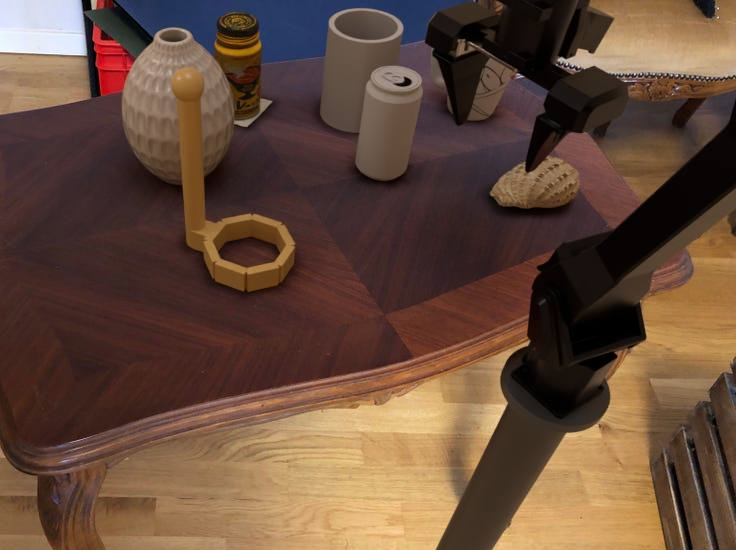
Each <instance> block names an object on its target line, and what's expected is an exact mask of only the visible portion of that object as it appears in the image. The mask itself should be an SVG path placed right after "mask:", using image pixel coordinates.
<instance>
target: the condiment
mask: <svg viewBox="0 0 736 550" xmlns="http://www.w3.org/2000/svg"><path fill="white" fill-rule="evenodd" d="M215 36H216V39H215V40H214V43H213V44H214V45H213V50H214V51H213V52H214V53H213V55H214V56H213V57H214V59H215V60H216V61H217V62H218V64H219V65H220V67H221V68H222V70H223V72H224V74H225V76H226V78H227V80H228V82H229V85H230V88H231V91H232V94H233V101H234V112H235V122H234V125H237V126H240V127H243V128H248V127H249V126H250V125H251V124H253V122H254V121H255V120H257V118H259V117H260V116H261V114H263V112H265V111H266V109H267V108H268V107H269V106H270V105H271V104H272V103H273V100H269V99H265V98H262V96H261V95H262V94H261V93H262V59H263V53H262V52H263V49H262V46H263V45H262V42H261V39H260V22H259V20H258V17H256V16H255V15H254V14H253V15H252V14H250V13H248V12H245V11H232V12H227V13H225V14H221V16H220V17H218V18H217V20H216V34H215Z"/></svg>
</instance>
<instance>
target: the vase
mask: <svg viewBox="0 0 736 550" xmlns="http://www.w3.org/2000/svg"><path fill="white" fill-rule="evenodd" d="M185 67H189V68H193V69H195V70H197V71H198V72H199V73H200V74H201V76H202V77H203V80H204V91H203V94H202V96H201V121H202V145H203V170H204V179H205V178H206V177H207V176H209V175H210V174H211V173H212V172H213V171H214V170H216V168H217V167H218V166H219V164H220V163H221V162H222V160H223V159H224V157H225V155H226V154H227V151H228V149H229V148H230V145H231V141H232V140H233V135H234V130H235V124H234V122H235V112H234V101H233V94H232V91H231V88H230V85H229V82H228V80H227V78H226V76H225V74H224V72H223V70H222V68H221V67H220V65H219V64H218V62H217V61H216V60H215V59H214V56H213V55H212V54H211V53H210V52H209V51H208V50H207V49H206V48H205V47H204V46H203V45H201V44H199V42H197V41H196V40H195V39H194V36H193V34H192V33H191V31H190V30H188V29H186V28H181V27H167V28H163V29H161V30H159V31H157V32H155V34H154V37H153V40H152V42H151V43H150V44H149V45H148V46H146V47H145V48H144V49H143V50H142V51H141V53H140V54H139V55H138V56H137V57H136V59H135V61H134V62H133V63H132V65H131V67H130V69H129V71H128V74H127V76H126V78H125V82H124V85H123V89H122V95H121V119H122V125H123V130H124V134H125V137H126V139H127V142H128V144H129V147H130V149H131V151H132V152H133V154H134V155H135V156H136V158H137V160H138V161H139V162H140V163H141V164H142V165H143V167H144V168H145V169H147V170H148V171H149V172H150V173H151V174H152V175H154V176H155V177H157V178H158V179H159V180H161V181H163V182H165V183H167V184H170V185H174V186H183V184H182V169H181V155H180V140H179V126H178V111H177V98H176V96H175V95H174V93H173V91H172V87H171V82H172V78H173V76H174V74H175V73H176V72H177V71H178V70H179V69H182V68H185Z"/></svg>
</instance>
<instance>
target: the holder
mask: <svg viewBox="0 0 736 550" xmlns="http://www.w3.org/2000/svg"><path fill="white" fill-rule="evenodd" d="M171 87H172V91H173V93H174V95H175V96H176V98H177V111H178V126H179V140H180V155H181V169H182V184H183V185H182V195H183V197H182V198H183V211H184V212H183V213H184V226H185V239H186V245H187V246H188V247H189V248H191V249H193V250H196V251H199V252H201V253H203V260H204V262H205V265H206V267H207V269H208V271H209V273H210V276H211V278H212V280H214V281H215V282H216V283H219V284H221V285H224V286H227V287H230V288H233V289H234V290H238V291H241V292H245V291H246V292H247V293H250V292H254V291H258V290H262V289H267V288H273V287H276V286H278V285H279V284H281V283H282V282H283V281H284V279H285V278H286V276H287V275H288V273H289V272H290V271H291V269H292V267H293V266H294V265H295V256H296V242H295V240H294V239H293V237H292V235H291V234H290V232H289V230H288V228H287V227H286V224H283V222H281V221H278V220H275V219H272V218H270V217H266V216H264V215H260V214H257V213H253V215H252V212H251V213H245V214H240V215H236V216H231V217H226V218H221V220H219V221H217V222H214V221H210V220H208V219H207V218H206V201H205V200H206V197H205V194H206V193H205V178H204V170H203V145H202V121H201V96H202V94H203V91H204V80H203V77H202V76H201V74H200V73H199V72H198V71H197V70H195V69H193V68H189V67H185V68H182V69H179V70H178V71H177V72H176V73H175V74H174V76H173V78H172V82H171ZM246 238H254V239H257V240H260V241H263V242H266V243H268V244H269V243H270V244H273V245H275V246H276V248H277V250H278V252H279V255H278V256H277V257H276V259H275V260H274V261H272V262H268V263H267V262H266V263H264V264H263V263H262V264H259V265H253V266H249V267H245V266H243V265H239V264H237V263H234V262H232V261H231V262H230V261H228V260H226V259H223V258H221V256H220V254H219V251H220V250H221V248H222V247H224V245H225V244H226V243H227V242H232V241H237V240H242V239H246Z"/></svg>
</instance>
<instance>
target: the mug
mask: <svg viewBox="0 0 736 550" xmlns="http://www.w3.org/2000/svg"><path fill="white" fill-rule="evenodd" d="M433 49H434V48H432V47H431V50H430V72H429V73H430V81H431V83H432V84H433V85H434V86H435V87H436V88H438V89H441V90H445V91H447V89H446V85H445V82H444V79H443V77H442V76H441V70H440V67H439V64H438V61H437V59H436V58H434V57H433V56H432V51H433ZM512 75H513V71H512V70H510V69H508V68H507V67H505V66H503V65H502V64H500V63H498V62H496V61H495V60H493V59H491V58H490V59H489V60H488V62H487V63H486V65H485V66H484V68H483V70H482V73H481V77H480V80H479V84H478V88H477V91H476V95H475V98H474V102H473V105H472V109H471V111H470V114H469V116H468V119H467V121H473V122H476V121H483V120H486V119H488V118H490V117H491V116H492V115H493V113H494V112H495V110H496V109H497V108H496V107H497V106H498V104H499V102H500V100H501V98H502V96H503V94H504V92H505V90H506V88H507V86H508V84H509V83H510V80H511V77H512ZM446 99H447V100H446V102H447V103H446V106H447V109H448V111H449V112H450V113H451V114H452V115H453V112H452V108H451V104H450V100H449V96H448V95H447V98H446Z"/></svg>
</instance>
